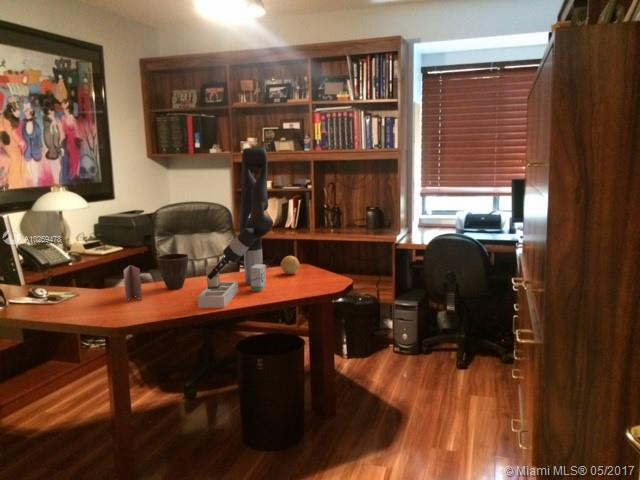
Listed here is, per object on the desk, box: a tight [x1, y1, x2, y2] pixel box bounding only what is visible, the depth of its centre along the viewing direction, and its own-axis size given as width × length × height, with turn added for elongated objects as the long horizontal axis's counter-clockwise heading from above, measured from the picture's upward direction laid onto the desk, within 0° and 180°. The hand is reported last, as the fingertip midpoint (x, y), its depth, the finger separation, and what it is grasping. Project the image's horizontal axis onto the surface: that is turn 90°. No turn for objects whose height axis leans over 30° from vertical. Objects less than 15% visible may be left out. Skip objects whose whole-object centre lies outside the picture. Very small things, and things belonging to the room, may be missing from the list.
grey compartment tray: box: [197, 281, 239, 309], centre depth 244 cm, size 26×11×5 cm, turn 175°
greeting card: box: [122, 264, 143, 302], centre depth 248 cm, size 11×7×15 cm, turn 5°
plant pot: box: [156, 253, 189, 291], centre depth 266 cm, size 15×15×16 cm
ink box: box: [250, 264, 267, 293], centre depth 259 cm, size 9×5×12 cm, turn 168°
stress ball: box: [280, 255, 300, 275], centre depth 289 cm, size 10×10×10 cm
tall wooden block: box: [205, 263, 221, 289], centre depth 234 cm, size 4×4×10 cm
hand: (210, 276), depth 234 cm, fingers closed on tall wooden block, 4 cm apart
